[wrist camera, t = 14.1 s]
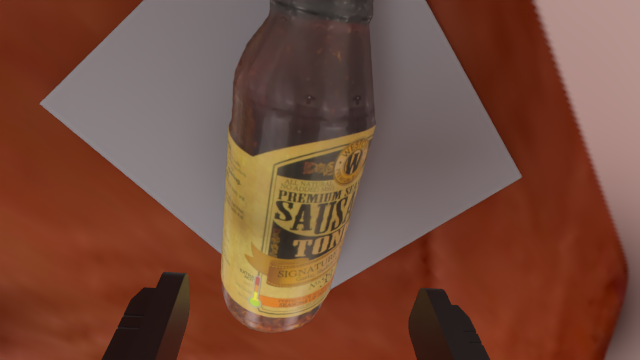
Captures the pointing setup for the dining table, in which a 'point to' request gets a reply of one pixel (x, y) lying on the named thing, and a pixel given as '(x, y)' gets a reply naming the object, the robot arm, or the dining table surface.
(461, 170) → the slate mat
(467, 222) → the dining table surface
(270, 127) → the sauce bottle
